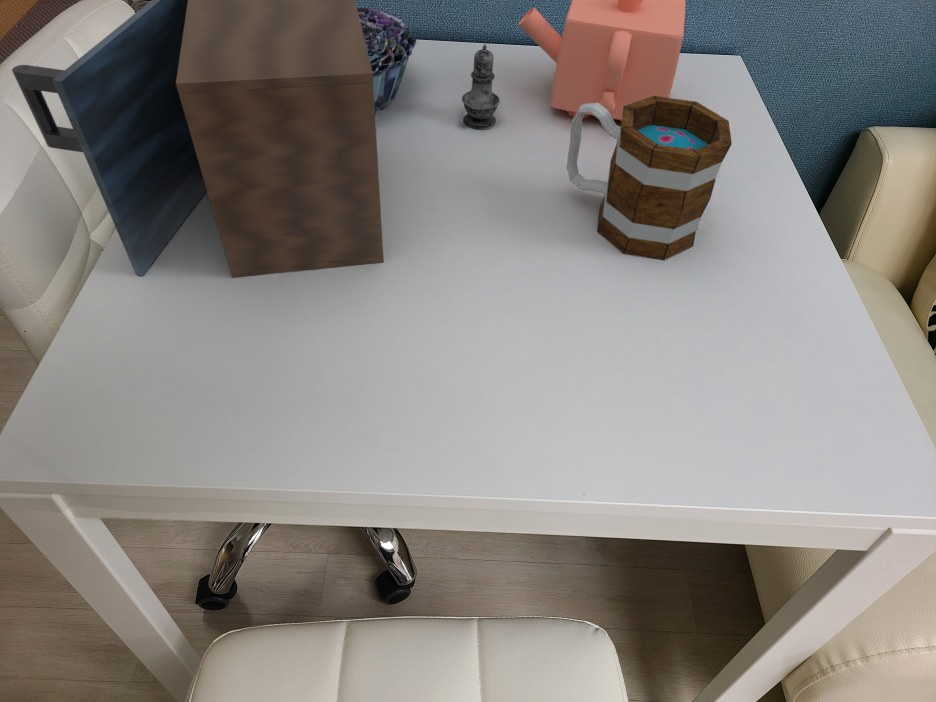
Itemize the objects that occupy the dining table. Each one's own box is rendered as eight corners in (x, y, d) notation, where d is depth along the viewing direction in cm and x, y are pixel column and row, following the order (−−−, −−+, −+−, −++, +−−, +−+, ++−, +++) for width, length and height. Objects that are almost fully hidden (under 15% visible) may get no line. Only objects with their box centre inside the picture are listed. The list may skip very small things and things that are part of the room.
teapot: (498, 122, 106) (509, 3, 92) (524, 59, 120) (536, -52, 107) (658, 149, 103) (693, 30, 89) (664, 81, 117) (695, -30, 104)
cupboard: (231, 277, 79) (175, 83, 61) (235, 155, 96) (191, -26, 78) (383, 262, 82) (372, 73, 64) (361, 146, 99) (347, -30, 81)
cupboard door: (89, 267, 79) (-8, 72, 61) (188, 148, 96) (134, -31, 78) (143, 275, 79) (61, 81, 61) (232, 155, 96) (189, -24, 78)
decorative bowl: (419, 140, 104) (424, 79, 97) (233, 133, 99) (223, 68, 92) (406, 63, 121) (409, 5, 113) (246, 53, 116) (239, -8, 108)
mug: (710, 220, 91) (750, 119, 80) (673, 274, 84) (711, 171, 72) (581, 170, 98) (602, 70, 87) (536, 216, 90) (552, 112, 79)
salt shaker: (453, 120, 105) (455, 43, 96) (478, 107, 108) (483, 31, 99) (480, 135, 103) (486, 57, 94) (505, 121, 106) (513, 45, 97)
